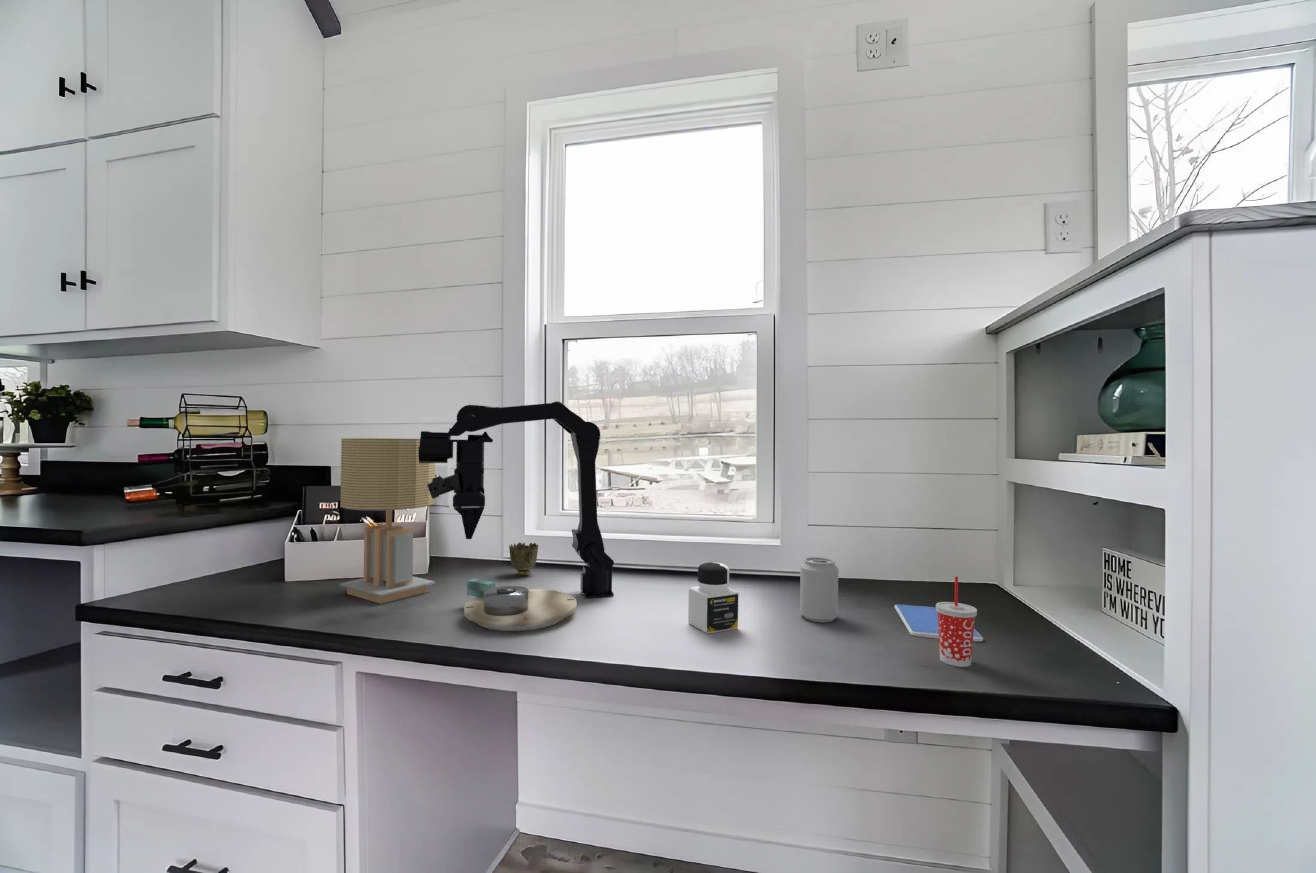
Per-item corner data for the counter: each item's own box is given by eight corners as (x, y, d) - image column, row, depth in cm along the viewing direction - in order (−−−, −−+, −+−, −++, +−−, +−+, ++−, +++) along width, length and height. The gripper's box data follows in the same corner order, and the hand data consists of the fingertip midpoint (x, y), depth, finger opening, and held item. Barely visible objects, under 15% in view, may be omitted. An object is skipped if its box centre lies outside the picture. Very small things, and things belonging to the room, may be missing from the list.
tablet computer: (893, 608, 125) (893, 602, 125) (956, 613, 122) (956, 607, 122) (910, 638, 106) (910, 631, 106) (985, 645, 103) (985, 638, 103)
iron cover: (526, 601, 116) (526, 582, 116) (530, 613, 108) (530, 592, 108) (483, 604, 114) (483, 584, 114) (483, 617, 106) (484, 596, 106)
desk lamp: (451, 590, 133) (453, 439, 133) (371, 610, 117) (373, 439, 117) (401, 578, 144) (403, 438, 144) (321, 595, 127) (323, 438, 127)
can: (840, 615, 118) (840, 557, 118) (835, 625, 111) (835, 564, 111) (803, 610, 121) (804, 553, 121) (796, 620, 115) (797, 560, 115)
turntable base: (560, 600, 126) (560, 593, 126) (573, 626, 109) (573, 618, 109) (474, 606, 121) (474, 599, 121) (474, 634, 104) (474, 627, 104)
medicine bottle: (707, 634, 106) (707, 569, 106) (687, 623, 112) (688, 562, 112) (738, 629, 109) (739, 566, 109) (717, 618, 115) (718, 559, 115)
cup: (541, 572, 152) (542, 542, 152) (532, 579, 144) (533, 547, 144) (514, 571, 152) (514, 541, 152) (504, 578, 145) (504, 546, 145)
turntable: (567, 590, 129) (568, 572, 129) (585, 620, 108) (585, 599, 108) (465, 597, 122) (465, 578, 122) (462, 631, 101) (463, 608, 101)
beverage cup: (947, 668, 91) (948, 581, 91) (927, 654, 97) (928, 572, 97) (984, 668, 92) (986, 581, 92) (962, 654, 98) (963, 572, 98)
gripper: (433, 461, 130) (432, 529, 130) (426, 465, 112) (425, 544, 112) (484, 461, 133) (483, 528, 133) (485, 465, 115) (484, 542, 115)
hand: (469, 535), depth 123 cm, fingers open, 9 cm apart
